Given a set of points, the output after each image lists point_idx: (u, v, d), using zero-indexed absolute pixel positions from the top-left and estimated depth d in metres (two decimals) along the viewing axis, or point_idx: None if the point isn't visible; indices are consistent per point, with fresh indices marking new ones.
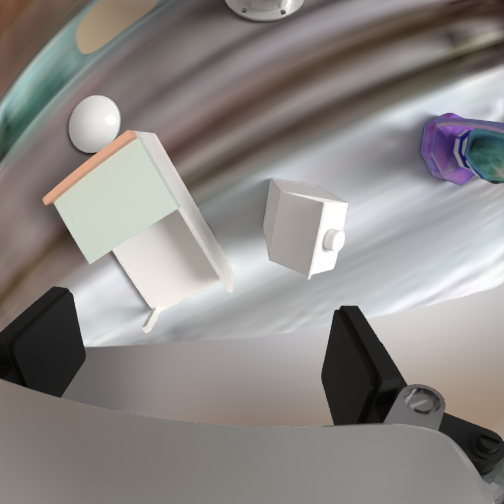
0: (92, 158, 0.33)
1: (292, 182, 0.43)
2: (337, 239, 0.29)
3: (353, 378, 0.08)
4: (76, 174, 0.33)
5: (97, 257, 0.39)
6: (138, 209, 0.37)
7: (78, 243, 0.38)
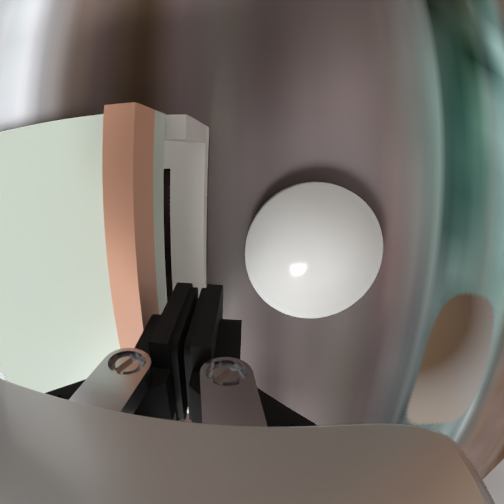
0: None
1: None
2: None
3: None
4: (124, 312, 0.10)
5: None
6: (17, 344, 0.13)
7: None
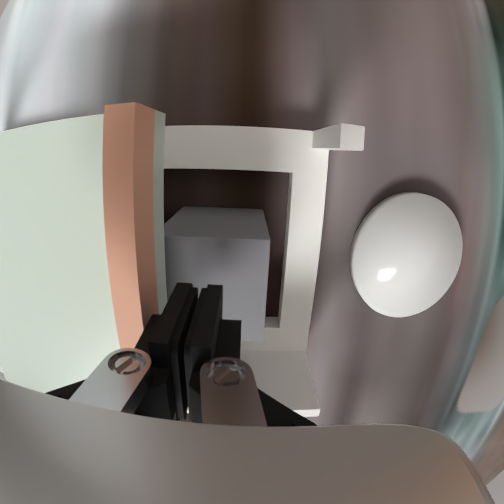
0: None
1: None
2: None
3: None
4: (125, 312, 0.10)
5: None
6: (17, 344, 0.13)
7: None
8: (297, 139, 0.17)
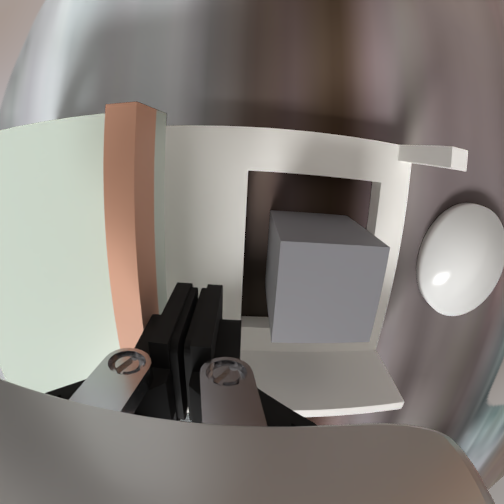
0: None
1: None
2: None
3: None
4: (124, 311, 0.10)
5: None
6: (16, 343, 0.13)
7: None
8: (386, 151, 0.17)
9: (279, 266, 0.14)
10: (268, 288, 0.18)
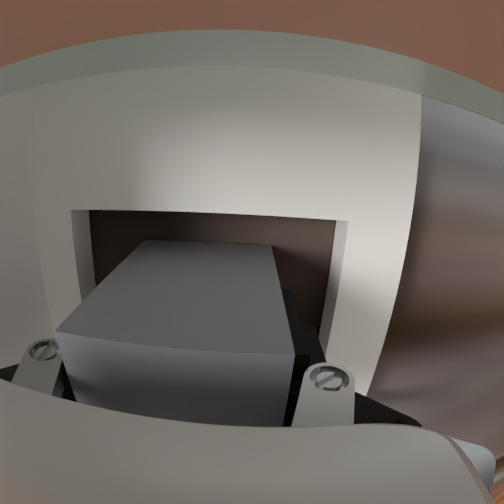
0: None
1: None
2: None
3: None
4: None
5: None
6: None
7: None
8: None
9: (234, 353, 0.06)
10: (147, 267, 0.09)
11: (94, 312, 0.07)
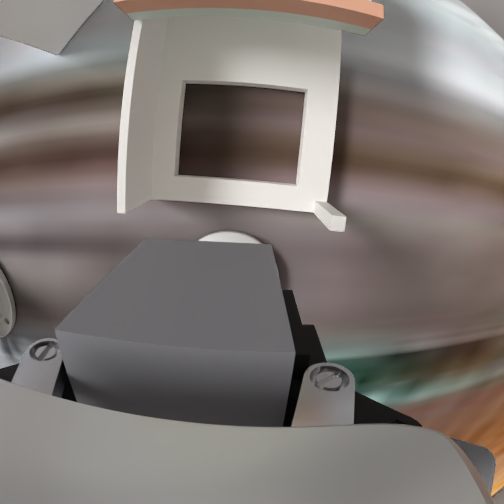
0: None
1: None
2: None
3: None
4: None
5: None
6: None
7: None
8: (321, 190, 0.25)
9: (235, 351, 0.06)
10: (147, 266, 0.09)
11: (94, 310, 0.07)
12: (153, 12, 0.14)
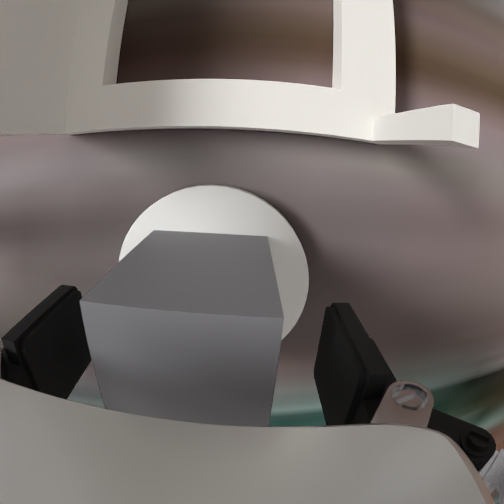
0: None
1: None
2: None
3: (343, 374, 0.08)
4: None
5: None
6: None
7: None
8: (383, 100, 0.11)
9: (234, 316, 0.07)
10: (157, 252, 0.11)
11: (113, 286, 0.08)
12: None
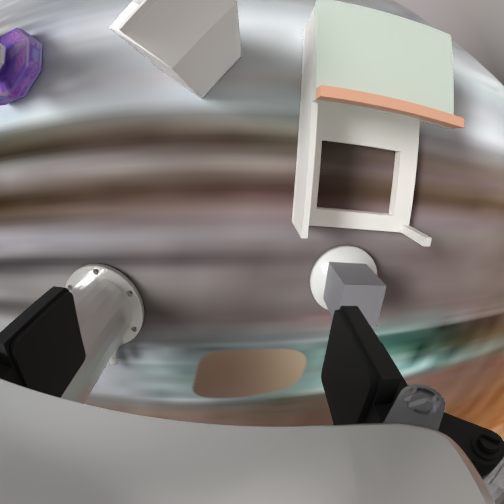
0: (382, 104, 0.24)
1: (179, 82, 0.31)
2: None
3: (353, 378, 0.08)
4: (410, 106, 0.24)
5: (438, 31, 0.22)
6: (363, 26, 0.23)
7: (451, 59, 0.23)
8: (406, 218, 0.36)
9: (377, 285, 0.32)
10: (343, 270, 0.36)
11: (346, 280, 0.33)
12: (334, 102, 0.26)
